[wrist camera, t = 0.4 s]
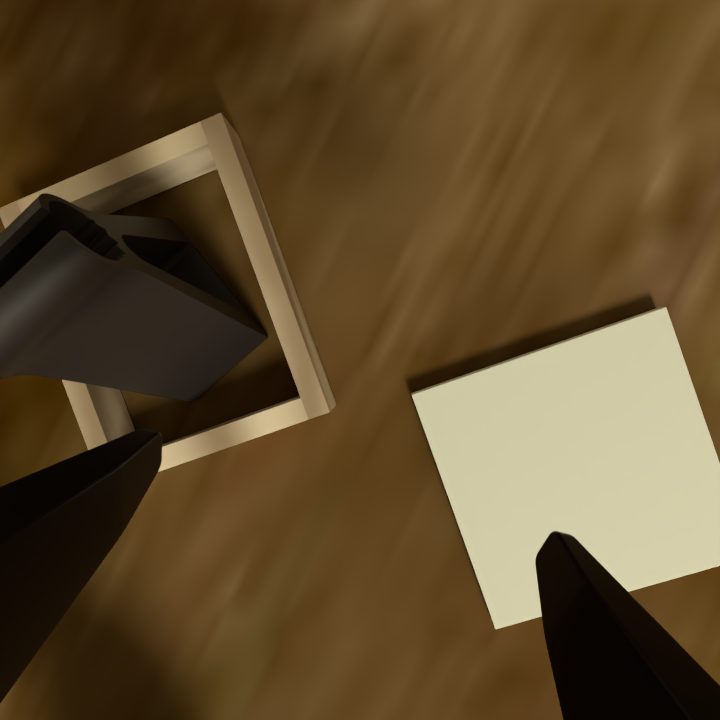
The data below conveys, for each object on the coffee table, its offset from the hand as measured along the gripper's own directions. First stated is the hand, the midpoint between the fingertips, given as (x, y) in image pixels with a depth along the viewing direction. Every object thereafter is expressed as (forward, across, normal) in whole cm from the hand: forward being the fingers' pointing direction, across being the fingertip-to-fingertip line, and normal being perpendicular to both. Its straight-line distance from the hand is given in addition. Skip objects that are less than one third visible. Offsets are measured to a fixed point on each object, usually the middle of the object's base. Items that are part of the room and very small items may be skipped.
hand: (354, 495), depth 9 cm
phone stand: (+15, +11, +4) cm, 19 cm away
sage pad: (+12, -13, +6) cm, 18 cm away
